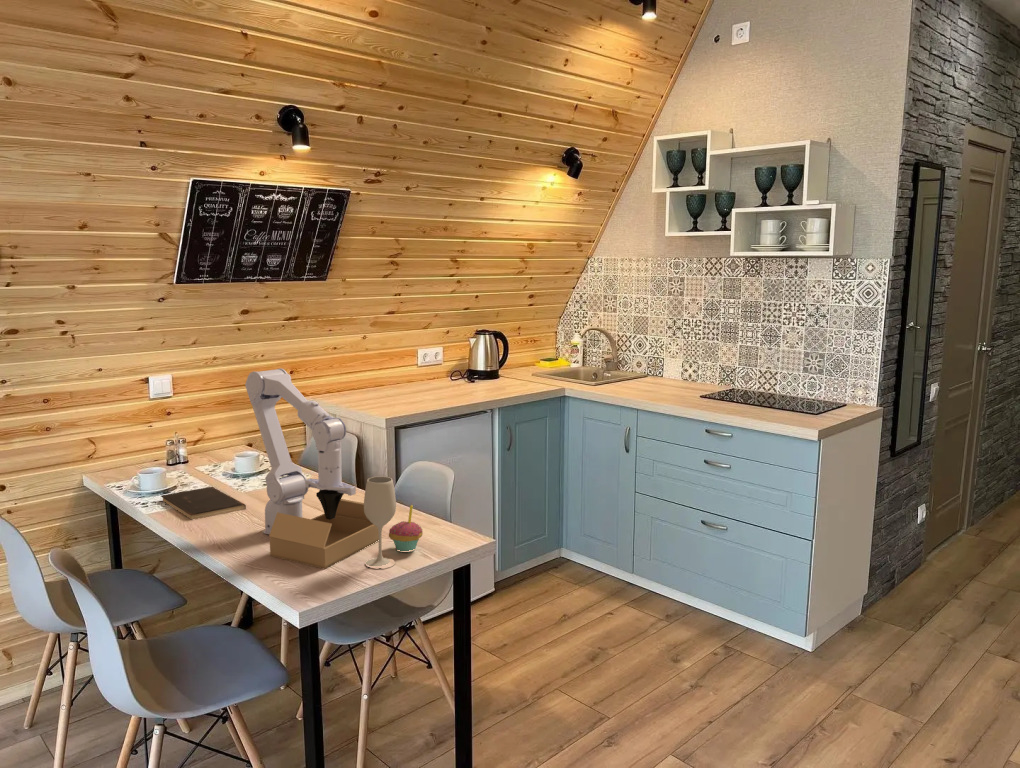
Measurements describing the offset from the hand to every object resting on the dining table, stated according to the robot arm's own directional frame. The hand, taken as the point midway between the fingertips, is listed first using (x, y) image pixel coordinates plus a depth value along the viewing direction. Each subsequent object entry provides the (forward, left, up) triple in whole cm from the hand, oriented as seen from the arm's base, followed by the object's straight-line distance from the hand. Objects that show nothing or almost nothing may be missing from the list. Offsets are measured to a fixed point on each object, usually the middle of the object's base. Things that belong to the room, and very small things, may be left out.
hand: (330, 518), depth 198 cm
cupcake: (+18, +7, -8) cm, 21 cm away
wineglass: (+18, -4, -8) cm, 20 cm away
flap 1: (0, -11, 0) cm, 11 cm away
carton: (0, -2, -7) cm, 8 cm away
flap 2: (0, +8, 0) cm, 8 cm away
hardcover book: (-54, +8, -8) cm, 55 cm away
